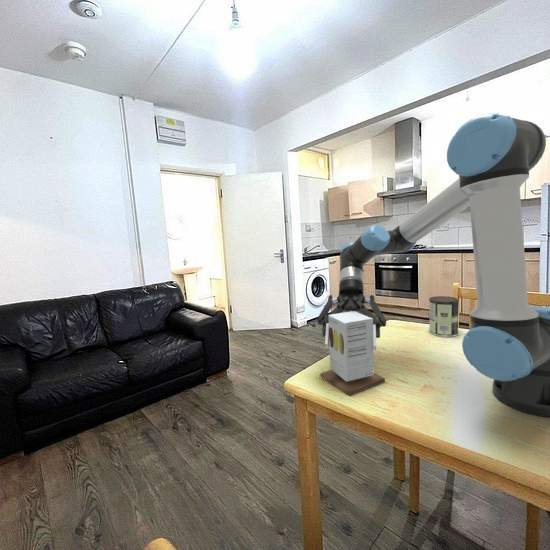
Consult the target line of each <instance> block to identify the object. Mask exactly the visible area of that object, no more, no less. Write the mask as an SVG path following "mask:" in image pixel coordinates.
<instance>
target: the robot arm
mask: <svg viewBox="0 0 550 550" xmlns="http://www.w3.org/2000/svg"><path fill="white" fill-rule="evenodd" d="M546 146H547V139H546V135H545V133H544V131H543V130H542V128H541V127H540V126H538V125H537V124H536V123H534V122H532V121H528V120H523V119H519V118H515V117H511V116H510V115H508V114H505V113H493V112H492V113H490V112H489V113H482V114H480V115H479V114H478V115H477V116H474V117H472V118H470V119H468V120H467V121H466V122H465V123H463V124H462V125H461V126H460V127H459V128H458V130H457V131H456V132H455V134H454V135H453V136H452V137H451V139H450V141H449V143H448V145H447V151H446V161H447V165H448V166H449V168H450V170H452V171H453V173H455V174H456V175H458V179H456V180H455V181H453V182H452V183H451V184H450V185H449V186H447V187H446V188H445V189H444V190H442V191H440V193H438V195H436V196H435V197H433V198H432V199H431V200H429V201H428V202H427V203H426V204H424V205H423V206H422V207H421V208H419V209H418V210H417V211H415V212H414V213H413V214H412V215H410V216H409V217H408V218H406V219H405V220H403V222H401V223H400V224H399V225H398V226H397V227H395V228H394V229H391V230H387V229H386V228H385V227H383V226H380V225H378V224H374V225H371V226H370V227H369V228H367V229H366V230H364V231H363V233H362V234H360V235H359V237H358V238H357V239H356V240H355V241H352V242H350V241H349V242H348V243H345V244H344V245H342V246H341V248H340V249H341V250H340V255H339V284H338V285H339V286H338V296H333V295H332V294H330V295H328V297H327V301H326V303H325V305H324V307H323V308H322V310H321V311H320V312H319V315H318V316H317V317H316V322H317V324H318V325H320V326H322V331H321V333H322V336H323V337H325V340H324V345H325V348H326V349H327V348H329V349H330V345H329V315H331V314H338V313H343V311H345V312H351V311H356V312H357V311H359V313H360V314H362V315H365V316H368V317H370V318H373V351H376V350H377V339H379V338H380V337H381V327H386V326H387V319H386V318H385V315H383V312H382V311H381V309H380V308H379V306H378V305H377V303H376V299H375V296H374V295H372V294H370V296H365V295H364V265H365V264H366V263H368V262H369V261H370V260H372V259H373V258H374V257H375V256H381V255H389V254H399V253H400V254H402V253H405V252H406V253H407V252H410V251H411V250H413V248H415V245H416V244H417V242H418V241H420V240H421V239H422V238H424V237H426V236H428V234H430V233H432V232H433V231H435V230H436V229H438V228H439V227H440V226H442V225H443V224H445V223H447V222H448V221H450V220H451V219H453V218H454V217H455V216H457V215H458V214H460V213H461V212H463V211H464V210H465V209H468V208H469V210H470V211H469V212H470V222H471V224H470V225H471V237H472V247H473V248H472V249H473V250H472V251H473V261H474V264H473V265H474V274H475V276H474V277H475V286H476V287H475V289H476V290H475V291H476V300H477V304H476V306H475V307H474V308H473V309H472V310H471V311H470V315H469V316H470V327H471V329H469V330H468V331H467V333H465V335H464V336H463V338H462V343H461V344H462V351H463V355H464V357H465V358H466V360H467V362H468V363H469V364H470V365H471V366H473V367H474V368H475V370H476V371H477V372H478V373H480V374H481V375H483V376H485V377H487V378H489V379H492V380H493V382H492V393H493V395H494V397H496V398H497V399H498V400H499V401H500V402H502V404H505V405H506V406H509V407H511V408H513V409H515V410H518V411H521V412H524V413H527V414H531V415H535V416H540V417H547V418H548V417H549V418H550V307H548V306H541V305H539V306H538V305H532V304H529V300H528V299H529V298H528V286H527V284H528V283H527V271H526V270H527V269H526V257H525V244H524V242H525V241H524V230H523V229H524V228H523V213H522V200H521V187H522V186H523V185H524V183H525V182H526V181H527V180H528V179H529V178H530V171H531V170H532V169H533V168H535V167H536V165H537V164H538V163H539V162H540V161H541V159H542V157H543V156H544V153H545V151H546ZM336 302H337V305H336V306H335V308H333V310H332V311H331V309H332V307H333V305H335V304H336ZM365 303H367V304H368V305H369V306H370V308H371V309H372V312H373V313H374V315H373V314H372V312H371V311H370V310H369V309H368V308H367V307H366V306H365ZM330 311H331V312H330ZM375 316H376V317H375Z"/></svg>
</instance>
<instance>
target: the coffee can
mask: <svg viewBox="0 0 550 550" xmlns="http://www.w3.org/2000/svg"><path fill="white" fill-rule="evenodd" d="M428 298H429V299H428V301H429V331H428V332H429V333H430V335H432V336H437V337H440V336H441V338H444V337H445V338H452V337H453V338H454V337H457V336H459V302H460V299H459V298H457V297H453V296H443V295H441V296H440V295H439V296H438V295H437V296H432V297H428Z"/></svg>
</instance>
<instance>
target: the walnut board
mask: <svg viewBox="0 0 550 550" xmlns="http://www.w3.org/2000/svg"><path fill="white" fill-rule="evenodd" d="M320 376H321V377H322V378H321V377H320V378H321V379H323V378H324V379H325V380H324V379H323V380H324V381H326V380H327V381H328V382H327V381H326V382H327V383H329V382H330V383H331V384H330V383H329V384H330V385H332V386H333V387H336V388H337V389H338V390H340V391H341V392H343V393H345V394H346V395H348V396H349V397H352V396H355V395H356V394H359V393H361V392H364V391H367V390H369V389H372V388H375V387H376V386H379V385H382V384H385V383H386V378H385V377H383V376H381V375H379V374H377V373H375V372H374V375H372V376H368V377H364V378H360V379H356V380H352V381H347V382H346V381H345V380H344V379H343V378H341V377H340V376H339V375H338V374H337V373H335V372H334V371H333V370H332V369H329V370H326V371H323V372H320Z"/></svg>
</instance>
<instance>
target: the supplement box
mask: <svg viewBox="0 0 550 550" xmlns="http://www.w3.org/2000/svg"><path fill="white" fill-rule="evenodd" d="M328 315H329V314H328ZM374 356H375V355H374V350H373V318H370V317H368V316H365V315H363V314H362V313H361V312H357V310H356V311H352V310H350V311H345V312H341V313H338V314H331V315H329V366H330V367H329V369H330V370H333V371H334V372H335V373H337V374H338V375H339V376H340V377H341V378H343V379H344V380H345V381H346V382H347V381H352V380H356V379H360V378H364V377H368V376H372V375H374V373H375V371H374V370H375V367H374V365H375V362H374V361H375V360H374V359H375V358H374Z"/></svg>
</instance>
